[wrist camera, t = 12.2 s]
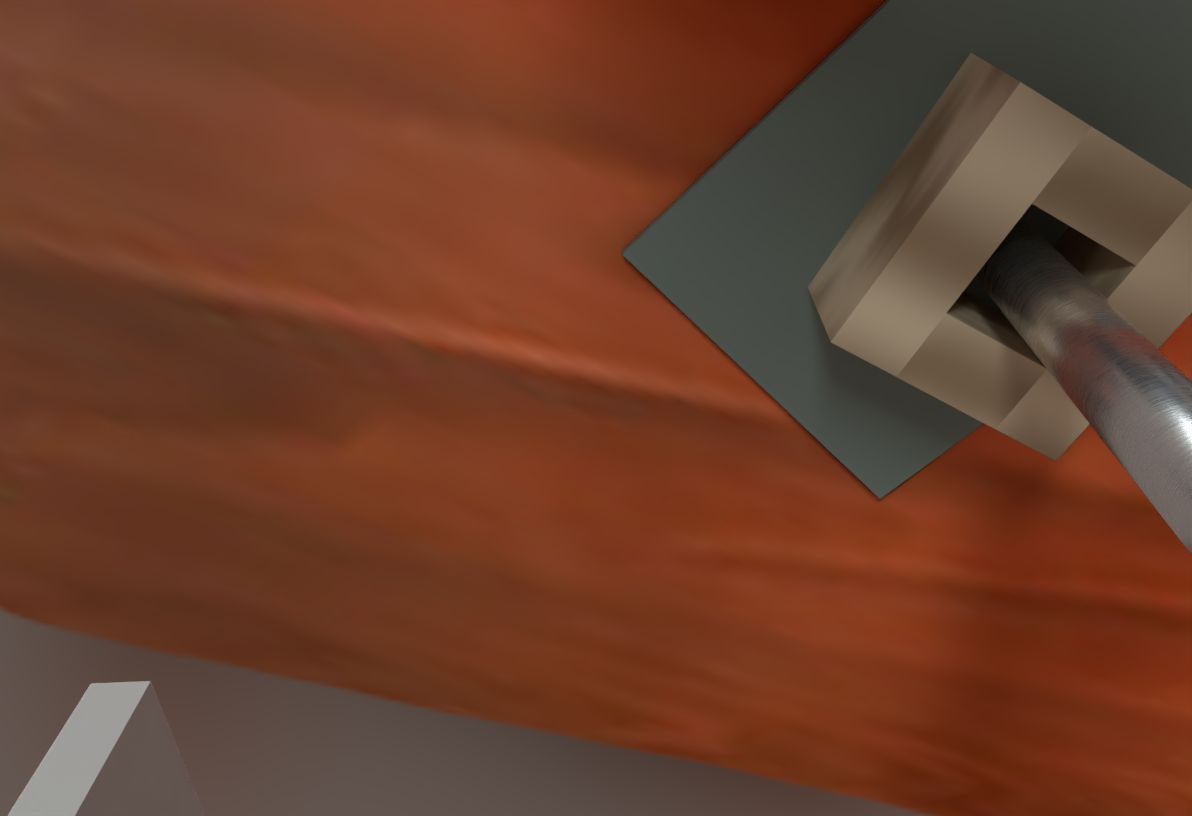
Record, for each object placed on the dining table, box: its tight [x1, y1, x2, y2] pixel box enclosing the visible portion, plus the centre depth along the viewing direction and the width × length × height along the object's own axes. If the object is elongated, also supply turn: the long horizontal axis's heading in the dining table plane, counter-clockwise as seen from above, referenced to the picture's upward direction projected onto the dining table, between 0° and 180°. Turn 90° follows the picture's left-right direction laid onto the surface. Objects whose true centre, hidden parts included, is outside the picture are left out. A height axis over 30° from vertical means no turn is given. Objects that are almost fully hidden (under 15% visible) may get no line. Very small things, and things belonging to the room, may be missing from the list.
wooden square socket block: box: [808, 53, 1192, 461], centre depth 36 cm, size 10×10×5 cm
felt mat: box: [622, 0, 1192, 499], centre depth 37 cm, size 24×16×1 cm, turn 135°
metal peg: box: [975, 217, 1192, 553], centre depth 30 cm, size 3×3×18 cm
